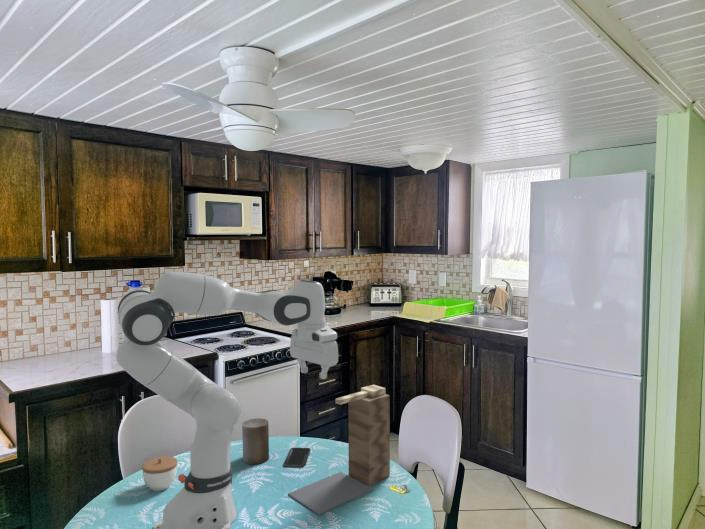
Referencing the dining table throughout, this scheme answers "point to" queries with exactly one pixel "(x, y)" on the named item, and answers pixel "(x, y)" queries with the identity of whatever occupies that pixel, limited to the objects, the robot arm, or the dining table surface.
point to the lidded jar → (159, 472)
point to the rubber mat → (330, 492)
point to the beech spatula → (362, 394)
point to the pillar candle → (255, 441)
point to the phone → (297, 457)
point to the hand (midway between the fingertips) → (313, 375)
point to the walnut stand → (369, 438)
